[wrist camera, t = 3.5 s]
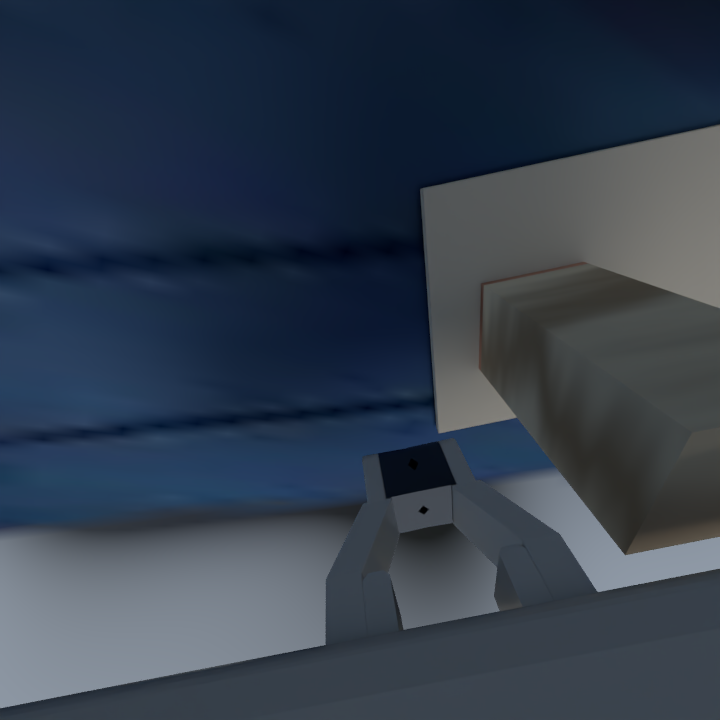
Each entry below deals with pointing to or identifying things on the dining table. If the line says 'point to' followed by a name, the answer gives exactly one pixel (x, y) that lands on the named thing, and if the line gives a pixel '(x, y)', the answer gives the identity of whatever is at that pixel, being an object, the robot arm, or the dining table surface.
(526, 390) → the birch block
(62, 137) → the dining table surface
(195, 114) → the dining table surface
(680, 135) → the sand mat
